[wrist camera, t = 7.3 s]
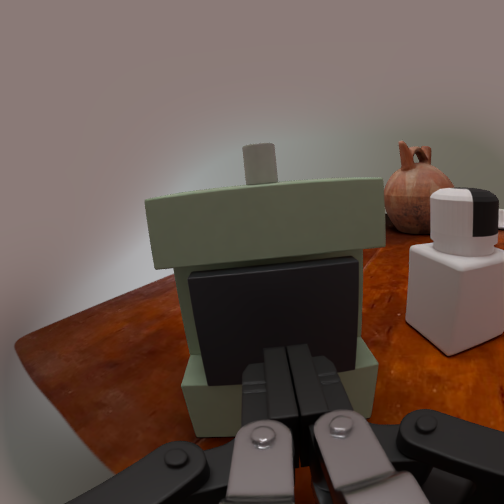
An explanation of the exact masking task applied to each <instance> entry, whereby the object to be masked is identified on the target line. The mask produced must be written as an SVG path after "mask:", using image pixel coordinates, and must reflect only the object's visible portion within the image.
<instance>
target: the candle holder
mask: <svg viewBox="0 0 504 504" xmlns="http://www.w3.org/2000/svg"><path fill="white" fill-rule="evenodd" d="M498 228H499V229H504V209H499V220H498Z"/></svg>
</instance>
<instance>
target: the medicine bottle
mask: <svg viewBox="0 0 504 504" xmlns="http://www.w3.org/2000/svg"><path fill="white" fill-rule="evenodd" d="M498 220H499V200H498V198H497V197H496V195H494V194H492V193H491V192H490V191H487V190H482V189H475V188H444V189H439V190H437V191H436V192H434V193H433V194H432V195H431V196H430V238H431V239H432V240H434V243H427V244H420V245H413V246H411V247H410V255H409V280H408V295H407V308H406V318H405V319H406V322H408V323H409V324H410V325H411V326H412V327H414V328H415V329H416V330H417V331H418V332H420V333H421V334H422V335H423V336H424V337H426V338H427V339H428V340H429V341H430V342H432V343H433V344H434V345H435V346H436V347H437V348H439V349H440V350H441V351H442V352H443V353H445V354H446V355H447V356H451V355H454V354H456V353H459V352H461V351H464V350H466V349H469V348H471V347H474V346H476V345H478V344H481V343H483V342H485V341H488V340H490V339H492V338H494V337H497V336H499V335H501V334H502V333H503V331H504V250H501V249H498V248H495V247H494V245H495V244H496V243H497V242H498Z"/></svg>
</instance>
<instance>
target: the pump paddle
mask: <svg viewBox="0 0 504 504" xmlns="http://www.w3.org/2000/svg"><path fill="white" fill-rule="evenodd" d="M187 281H188V287H189V293H190V299H191V305H192V310H193V316H194V321H195V326H196V332H197V337H198V342H199V347H200V352H201V357H202V362H203V366H204V371H205V376H206V380H207V385H208V386H225V385H241V384H242V373H243V372H244V370H245V369H246V367H247V366H248V364H254V363H264V352H263V348H272V347H282V346H284V347H285V352H286V346H290V345H298V344H306V343H307V345H308V347H309V350H310V353H311V356H312V357H315V356H322V355H324V356H325V357H327V358H328V359H329V360H330V361H332V362H333V363H334V365H335V368H336V370H337V373H340V372H346V371H351V370H355V366H356V352H357V334H358V309H359V261H358V260H357V259H355V258H354V257H353V256H342V257H333V258H323V259H314V260H304V261H295V262H285V263H275V264H265V265H255V266H245V267H235V268H224V269H214V270H203V271H192V272H191V273H190V275H189V277H188V278H187Z"/></svg>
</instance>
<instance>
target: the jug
mask: <svg viewBox="0 0 504 504" xmlns="http://www.w3.org/2000/svg"><path fill="white" fill-rule="evenodd" d="M399 149H400V157H401V165H402V166H401V168H400V169H399V170H397V171H396V172H394V174H393V175H392V176H391V177H390V179H389V180H388V182H387V184H386V186H385V189H384V204H385V209H386V212H387V214H388V216H389V218H390V219H391V221H392V222H393V224H394V225H395V227H396V228H397V229H398V230H399V231H401V232H404V233H410V234H430V196H431V195H432V194H433V193H434V192H436V191H437V190H439V189H444V188H455V187H454V186H453V184H452V182H451V181H450V180H449V179H448V177H447V176H446V175H445V174H444V173H442V172H441V171H440V170H439V169H437V168H436V167H433V166H431V148H430V147H428V146H422V147H421V148H419V147H410V148H408V146H407V145H406V143H405V142H404V141H400V142H399ZM414 154H416V155H417V157H418V159H419V163H414V161H413V156H414Z"/></svg>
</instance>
